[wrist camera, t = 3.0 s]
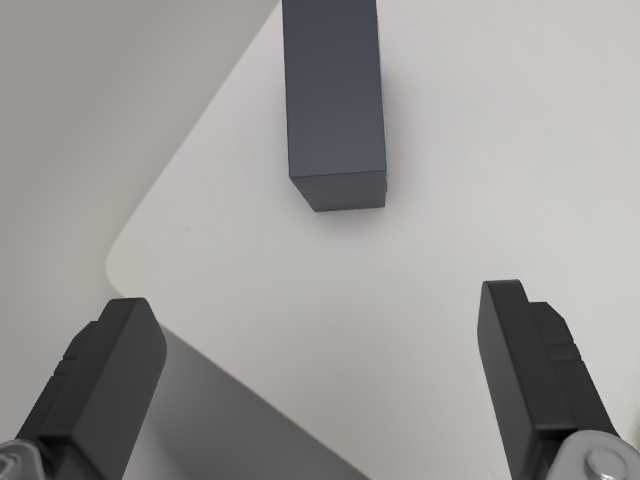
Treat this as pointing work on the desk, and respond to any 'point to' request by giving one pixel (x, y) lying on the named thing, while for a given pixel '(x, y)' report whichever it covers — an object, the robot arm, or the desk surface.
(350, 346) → the desk surface
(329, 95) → the block
